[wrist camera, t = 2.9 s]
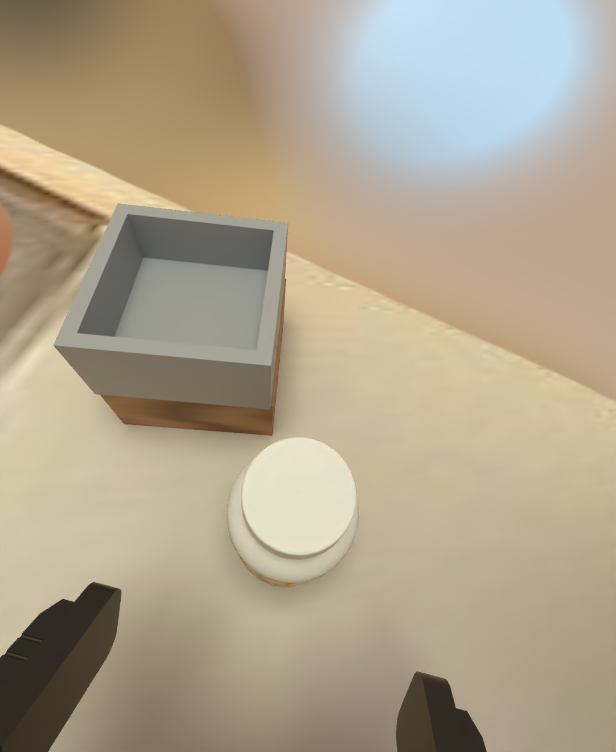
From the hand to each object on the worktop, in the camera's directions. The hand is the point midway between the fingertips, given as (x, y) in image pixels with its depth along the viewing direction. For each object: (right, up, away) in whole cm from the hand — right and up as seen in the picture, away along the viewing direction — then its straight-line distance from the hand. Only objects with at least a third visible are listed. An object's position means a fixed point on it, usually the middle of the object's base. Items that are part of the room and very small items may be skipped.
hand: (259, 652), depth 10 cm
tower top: (-5, +10, +12) cm, 16 cm away
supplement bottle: (0, -1, +11) cm, 12 cm away
